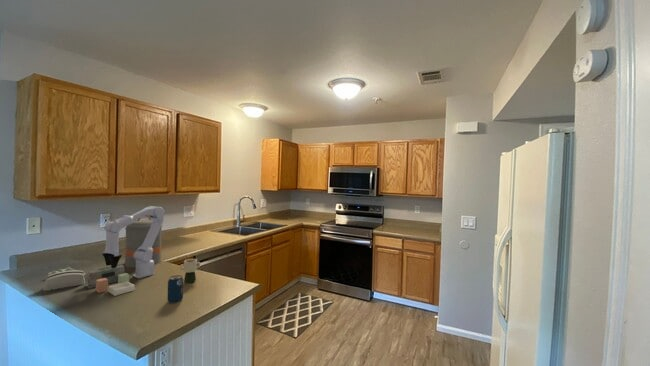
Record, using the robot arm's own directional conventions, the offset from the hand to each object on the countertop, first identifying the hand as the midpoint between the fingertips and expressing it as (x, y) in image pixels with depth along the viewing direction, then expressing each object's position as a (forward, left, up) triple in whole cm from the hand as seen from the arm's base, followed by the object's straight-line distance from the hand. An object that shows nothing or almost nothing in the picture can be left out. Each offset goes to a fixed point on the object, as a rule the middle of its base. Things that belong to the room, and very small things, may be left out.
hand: (111, 266), depth 153 cm
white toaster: (+11, -36, -11) cm, 39 cm away
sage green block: (-4, +5, -11) cm, 13 cm away
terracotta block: (+6, +5, -11) cm, 13 cm away
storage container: (-29, -31, -11) cm, 44 cm away
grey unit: (0, -7, -11) cm, 13 cm away
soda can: (-11, +48, -11) cm, 51 cm away
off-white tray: (0, +13, -11) cm, 17 cm away
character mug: (-29, +30, -11) cm, 43 cm away
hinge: (+15, -17, -11) cm, 25 cm away
